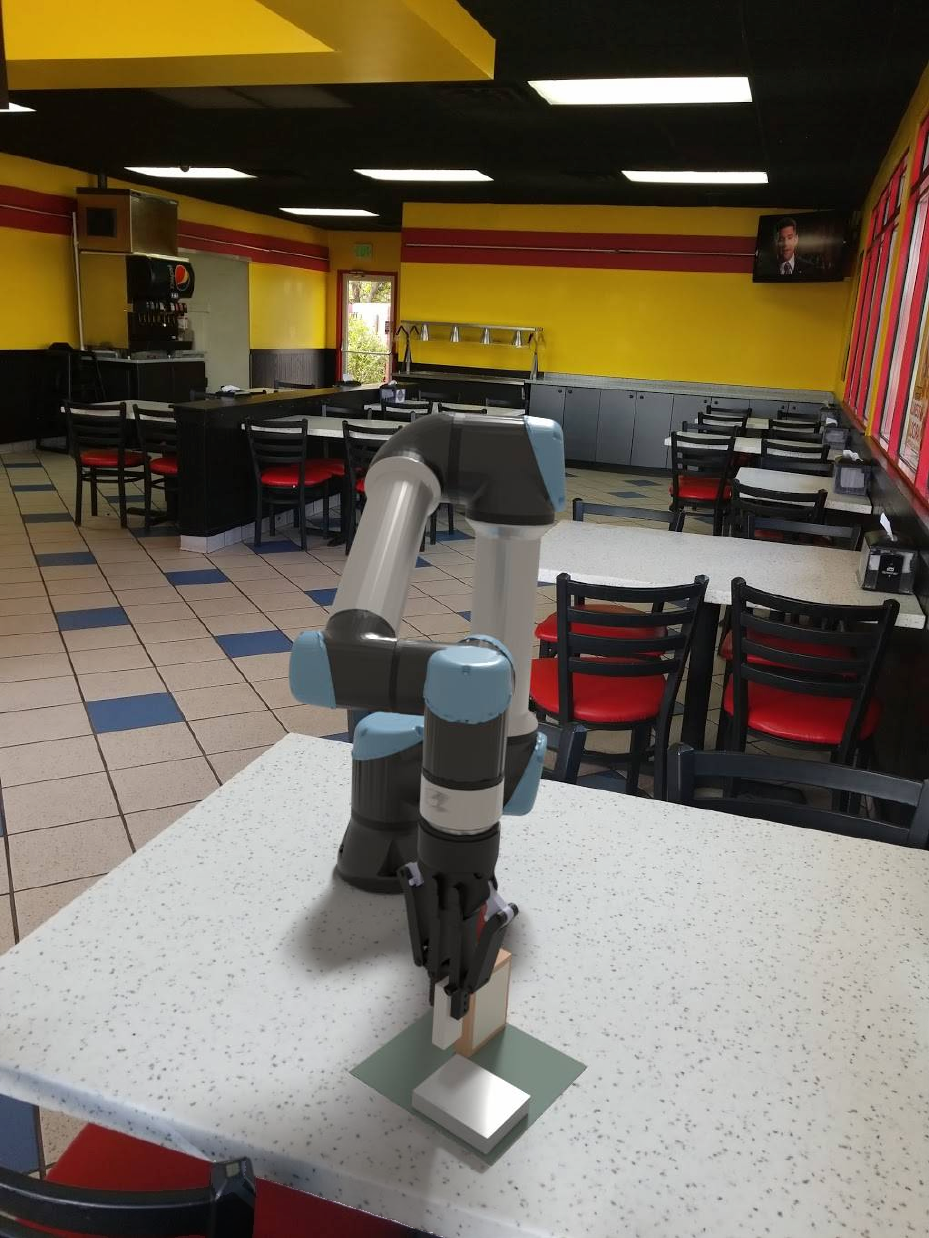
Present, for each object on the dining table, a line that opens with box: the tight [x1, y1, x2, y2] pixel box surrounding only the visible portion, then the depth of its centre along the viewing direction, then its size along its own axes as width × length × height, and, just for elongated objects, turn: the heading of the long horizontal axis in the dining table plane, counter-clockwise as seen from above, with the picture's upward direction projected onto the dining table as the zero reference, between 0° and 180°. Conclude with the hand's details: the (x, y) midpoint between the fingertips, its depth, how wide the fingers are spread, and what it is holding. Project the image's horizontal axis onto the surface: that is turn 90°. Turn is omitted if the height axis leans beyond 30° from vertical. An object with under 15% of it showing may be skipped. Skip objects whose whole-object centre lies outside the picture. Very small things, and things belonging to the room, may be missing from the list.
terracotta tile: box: [454, 947, 513, 1059], centre depth 102 cm, size 2×7×9 cm, turn 142°
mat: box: [348, 1007, 589, 1167], centre depth 99 cm, size 18×17×1 cm
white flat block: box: [412, 1053, 530, 1155], centre depth 93 cm, size 2×7×9 cm
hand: (446, 1039), depth 93 cm, fingers closed
